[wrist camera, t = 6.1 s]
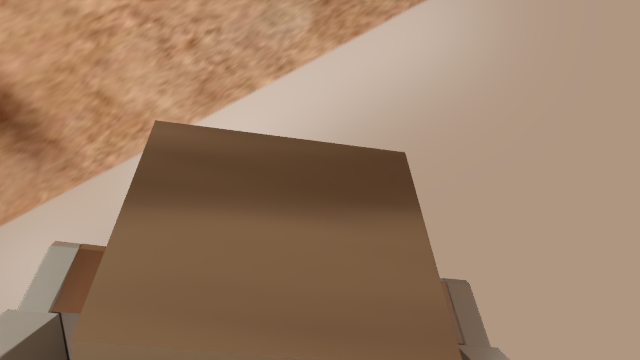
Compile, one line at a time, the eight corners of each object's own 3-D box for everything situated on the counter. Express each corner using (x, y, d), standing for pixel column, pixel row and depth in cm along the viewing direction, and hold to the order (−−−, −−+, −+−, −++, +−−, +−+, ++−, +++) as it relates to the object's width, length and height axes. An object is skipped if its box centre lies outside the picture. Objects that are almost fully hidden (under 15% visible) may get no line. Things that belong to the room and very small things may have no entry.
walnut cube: (155, 120, 10) (69, 340, 6) (404, 152, 11) (464, 369, 7) (157, 290, 13) (99, 511, 9) (353, 307, 14) (375, 520, 10)
